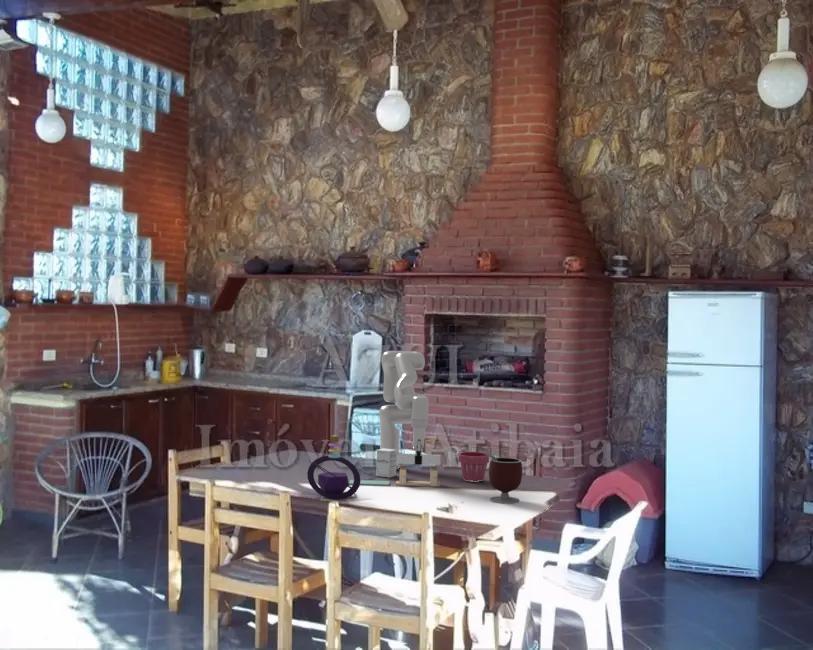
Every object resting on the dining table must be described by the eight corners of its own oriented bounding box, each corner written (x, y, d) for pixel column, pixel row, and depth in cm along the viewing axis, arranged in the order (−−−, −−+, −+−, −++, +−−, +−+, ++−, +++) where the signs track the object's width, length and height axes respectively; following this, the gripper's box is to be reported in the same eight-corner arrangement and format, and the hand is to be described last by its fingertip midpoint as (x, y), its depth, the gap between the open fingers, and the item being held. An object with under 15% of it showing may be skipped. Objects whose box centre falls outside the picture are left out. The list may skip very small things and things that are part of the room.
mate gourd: (518, 497, 374) (519, 450, 374) (523, 504, 360) (525, 455, 360) (482, 497, 374) (483, 450, 374) (486, 503, 360) (487, 455, 360)
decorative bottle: (305, 499, 358) (307, 438, 358) (307, 489, 379) (309, 431, 379) (360, 500, 359) (362, 439, 359) (359, 490, 380) (361, 432, 380)
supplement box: (375, 476, 416) (376, 449, 416) (383, 474, 423) (383, 447, 423) (389, 477, 413) (389, 451, 413) (396, 475, 420) (397, 449, 419)
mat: (350, 481, 401) (350, 479, 401) (389, 482, 401) (389, 481, 401) (349, 484, 393) (349, 483, 393) (389, 485, 393) (389, 484, 393)
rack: (396, 482, 401) (396, 465, 401) (439, 483, 401) (440, 466, 401) (395, 485, 395) (396, 467, 395) (440, 486, 395) (440, 468, 395)
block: (396, 463, 397) (396, 454, 396) (396, 461, 401) (396, 453, 400) (440, 465, 397) (440, 456, 396) (439, 463, 401) (440, 454, 400)
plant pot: (458, 483, 404) (459, 455, 404) (457, 477, 418) (458, 451, 418) (489, 484, 404) (490, 456, 404) (487, 478, 418) (488, 452, 418)
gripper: (411, 420, 406) (409, 459, 407) (411, 425, 390) (409, 466, 390) (427, 421, 406) (426, 460, 407) (428, 426, 390) (426, 467, 390)
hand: (418, 463), depth 399 cm, fingers closed on block, 4 cm apart
